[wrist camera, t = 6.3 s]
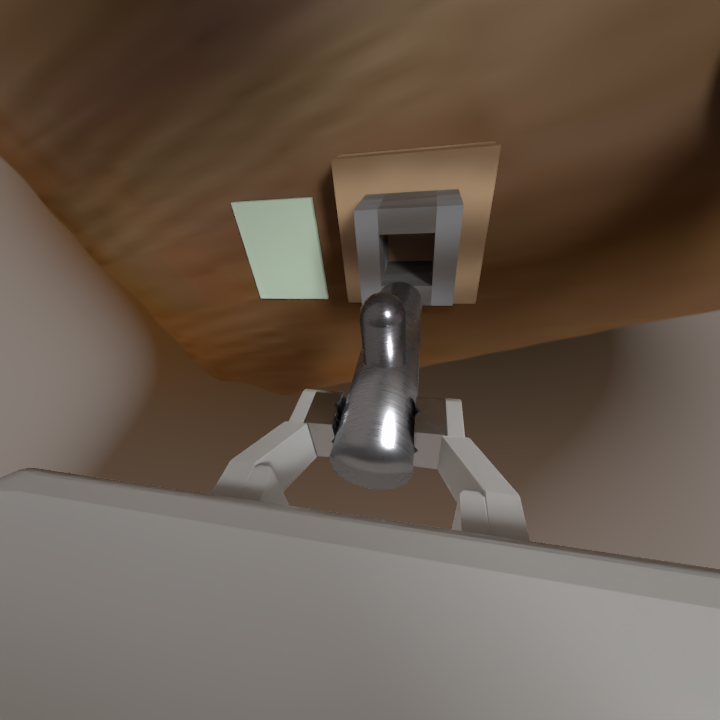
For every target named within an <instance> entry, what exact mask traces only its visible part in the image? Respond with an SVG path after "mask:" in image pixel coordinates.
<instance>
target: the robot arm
mask: <svg viewBox="0 0 720 720" xmlns="http://www.w3.org/2000/svg"><path fill="white" fill-rule="evenodd" d="M345 402H346V396H345V393H344V392H337V391H326V390H313V389H305V390H304V391H303V392H302V394H301V396H300V398H299V401H298V402H297V405H296V407H295V409H294V411H293V413H292V415H291V417H290V420H289V422H286V421H285V422H284V423H282V424H281V425H279V426H278V427H276V428H275V429H274V430H272V431H271V432H269V433H268V434H267V435H265V436H264V437H262V438H261V439H260V440H258V441H257V442H255V443H254V444H253V445H251V446H250V447H248V448H247V449H246V450H244V451H243V452H241V453H240V454H239V455H237V456H236V457H235V458H233V459H232V460H231V461H230V462H229V464H228V466H227V467H226V469H225V471H224V472H223V474H222V476H221V478H220V479H219V481H218V483H217V484H216V486H215V488H214V490H213V491H212V493H211V494H206V493H199V492H192V491H185V490H178V489H172V488H165V487H158V486H152V485H145V484H138V483H131V482H125V481H118V480H111V479H104V478H97V477H91V476H84V475H77V474H71V473H64V472H57V471H51V470H44V469H38V468H26V469H21V470H18V471H15V472H13V473H11V474H8V475H6V476H3V477H1V478H0V720H720V569H716V568H709V567H701V566H695V565H688V564H681V563H675V562H668V561H661V560H654V559H648V558H640V557H634V556H627V555H620V554H613V553H606V552H600V551H592V550H586V549H580V548H573V547H566V546H559V545H552V544H545V543H539V542H532V541H530V540H529V535H528V531H527V527H526V522H525V518H524V513H523V509H522V504H521V500H520V496H519V495H518V494H517V492H516V491H515V490H514V489H513V488H512V487H511V485H510V484H509V483H508V482H507V481H506V480H505V479H504V477H503V476H502V475H501V474H500V473H499V472H498V470H497V469H496V468H495V467H494V466H493V465H492V463H491V462H490V461H489V460H488V459H487V458H486V456H485V455H483V453H482V452H481V451H480V450H479V448H478V447H477V446H476V445H475V444H474V443H473V442H472V441H471V439H470V438H465V433H464V423H463V413H462V403H461V400H460V399H445V398H428V397H416V409H415V427H414V446H415V449H414V466H418V467H425V468H432V469H438V471H439V473H440V475H441V477H442V478H443V480H444V482H445V483H446V485H447V487H448V488H449V490H450V492H451V493H452V495H453V497H454V499H455V500H456V502H457V508H456V512H455V517H454V522H453V526H452V530H450V529H444V528H436V527H430V526H423V525H417V524H410V523H403V522H396V521H390V520H383V519H375V518H369V517H362V516H356V515H349V514H342V513H334V512H328V511H321V510H314V509H308V508H301V507H294V506H289V504H288V502H287V500H286V498H285V496H284V493H283V491H284V490H285V489H286V488H287V487H288V486H289V485H290V484H291V483H292V482H293V481H294V480H295V479H296V478H297V477H298V476H299V475H300V474H301V473H302V472H303V471H304V470H305V469H306V468H307V467H308V465H309V464H310V463H311V462H312V461H313V460H314V459H315V458H316V457H317V456H326V457H330V453H331V450H332V446H333V443H334V440H335V436H336V433H337V430H338V426H339V423H340V420H341V416H342V413H343V410H344V406H345Z"/></svg>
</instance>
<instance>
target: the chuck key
mask: <svg viewBox="0 0 720 720" xmlns="http://www.w3.org/2000/svg"><path fill="white" fill-rule="evenodd" d="M421 321H422V297H421V295H420V293H419V291H418V290H417V289H416V288H415V287H414V286H412V285H410V284H408V283H404V282H394V283H390V284H388V285H386V286H385V287H384V288H382V289H381V291H380V292H378V293H375V294H372V295H371V296H369V297H368V298H367V299H366V300H365V301H364V303H363V304H362V306H361V310H360V325H361V335H362V345H363V346H362V349H361V353H360V356H359V359H358V363H357V366H356V370H355V373H354V376H353V380H352V383H351V386H350V390H349V393H348V396H347V400H346V403H345V406H344V410H343V413H342V416H341V420H340V423H339V426H338V430H337V433H336V436H335V440H334V443H333V446H332V450H331V453H330V458H329V459H330V464H331V466H332V468H333V469H334V470H335V472H336V473H338V474H339V475H340V476H341V477H342V478H344V479H345V480H347V481H349V482H351V483H354V484H356V485H359V486H362V487H366V488H371V489H393V488H397V487H400V486H402V485H404V484H406V483H407V482H408V481H409V480H410V479H411V478H412V475H413V466H414V449H415V446H414V427H415V409H416V397H417V394H418V376H419V357H420V339H421Z"/></svg>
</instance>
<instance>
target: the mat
mask: <svg viewBox="0 0 720 720" xmlns="http://www.w3.org/2000/svg"><path fill="white" fill-rule="evenodd" d="M231 205H232V208H233V212H234V215H235V218H236V221H237V224H238V227H239V231H240V234H241V237H242V240H243V243H244V246H245V250H246V253H247V256H248V259H249V262H250V265H251V269H252V272H253V275H254V278H255V281H256V284H257V288H258V291H259V294H260V297H261V298H267V299H328V298H329V296H328V290H327V284H326V278H325V272H324V266H323V260H322V254H321V248H320V242H319V235H318V229H317V223H316V217H315V211H314V205H313V199H312V197H307V198H290V199H274V200H257V201H241V202H232V203H231Z"/></svg>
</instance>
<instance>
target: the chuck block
mask: <svg viewBox="0 0 720 720" xmlns="http://www.w3.org/2000/svg"><path fill="white" fill-rule="evenodd" d="M500 150H501V145H500V144H498V143H497V142H495V141H494V142H482V143H471V144H459V145H448V146H436V147H425V148H413V149H402V150H390V151H379V152H367V153H356V154H344V155H339V156H337V157H335V158H333V159H331V165H332V173H333V182H334V190H335V198H336V206H337V214H338V222H339V230H340V239H341V247H342V255H343V263H344V271H345V279H346V287H347V296H348V302H354V303H362V304H363V303H364V301H365V300H366V299H367V298H368V297H369V296H371V295H372V294H375V293H378V292H380V291H381V289H382V288H384V287H385V286H386V285H388V284H390V283H394V282H404V283H408V284H410V285H412V286H414V287H415V288H416V289H417V290H418V291H419V293H420V295H421V297H422V305H430V306H452V305H453V303H456V304H476V297H477V291H478V285H479V279H480V273H481V267H482V261H483V254H484V248H485V242H486V236H487V230H488V224H489V217H490V211H491V205H492V199H493V193H494V187H495V181H496V174H497V168H498V162H499V156H500Z"/></svg>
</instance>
